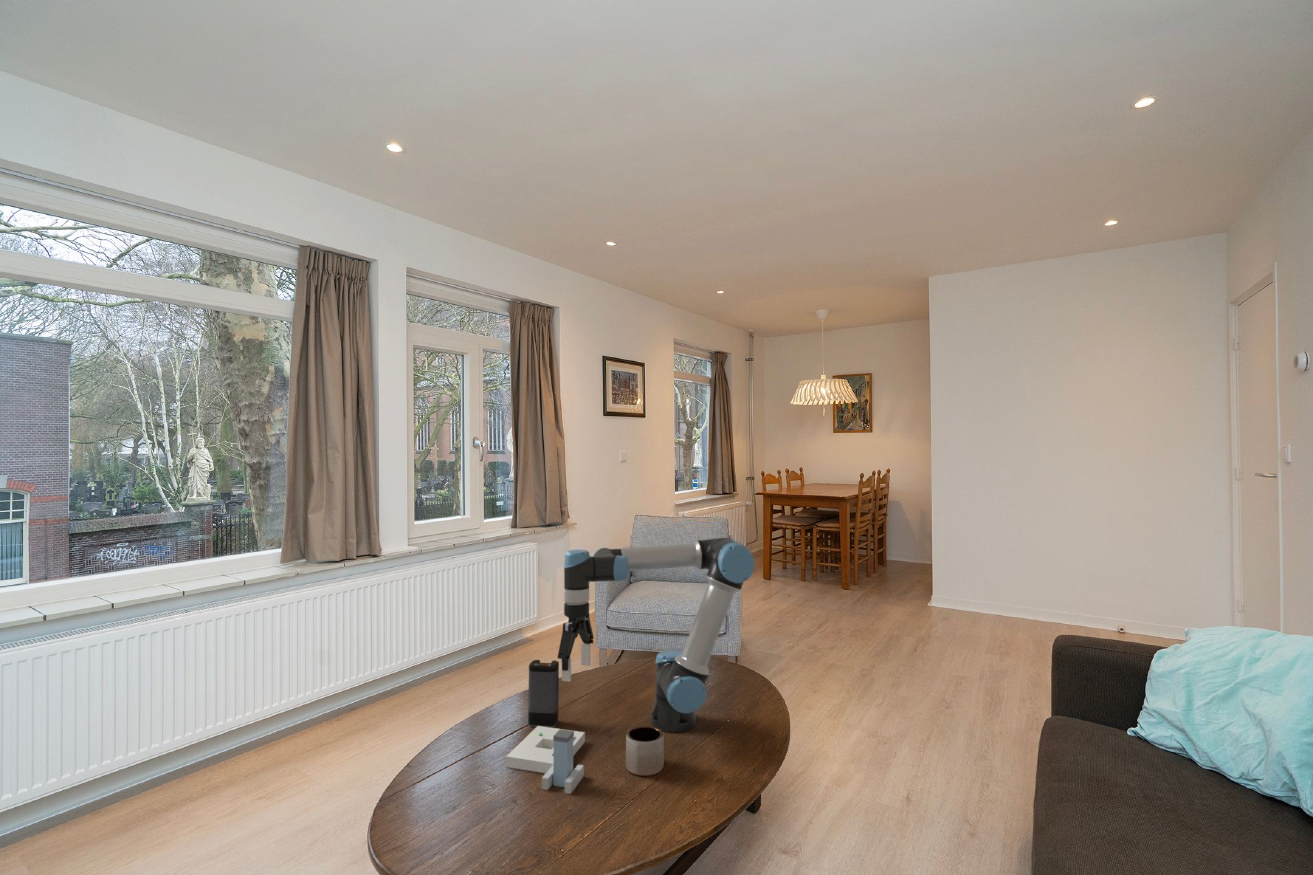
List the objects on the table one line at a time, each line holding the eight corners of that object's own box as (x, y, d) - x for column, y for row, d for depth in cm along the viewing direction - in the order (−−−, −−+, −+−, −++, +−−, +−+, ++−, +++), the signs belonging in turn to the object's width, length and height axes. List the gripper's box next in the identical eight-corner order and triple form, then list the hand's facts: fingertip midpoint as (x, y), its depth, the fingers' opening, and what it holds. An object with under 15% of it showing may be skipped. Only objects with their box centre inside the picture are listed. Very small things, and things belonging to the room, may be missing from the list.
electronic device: (559, 720, 202) (560, 660, 203) (554, 728, 196) (555, 666, 197) (532, 719, 203) (533, 659, 204) (526, 727, 197) (527, 665, 198)
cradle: (583, 776, 167) (583, 765, 168) (570, 793, 159) (570, 782, 159) (556, 771, 170) (556, 760, 170) (541, 788, 161) (541, 777, 161)
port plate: (584, 742, 187) (585, 730, 187) (557, 775, 168) (557, 762, 168) (537, 735, 191) (537, 724, 192) (506, 766, 172) (506, 754, 172)
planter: (668, 761, 176) (668, 728, 176) (656, 780, 166) (656, 745, 166) (633, 754, 180) (634, 722, 180) (619, 773, 169) (620, 738, 170)
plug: (573, 779, 166) (573, 731, 166) (567, 787, 162) (567, 737, 162) (559, 777, 167) (559, 729, 167) (552, 785, 163) (553, 735, 163)
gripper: (582, 591, 196) (582, 657, 195) (545, 611, 172) (545, 686, 172) (604, 593, 194) (603, 660, 193) (569, 613, 170) (569, 689, 169)
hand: (576, 672), depth 182 cm, fingers open, 13 cm apart
